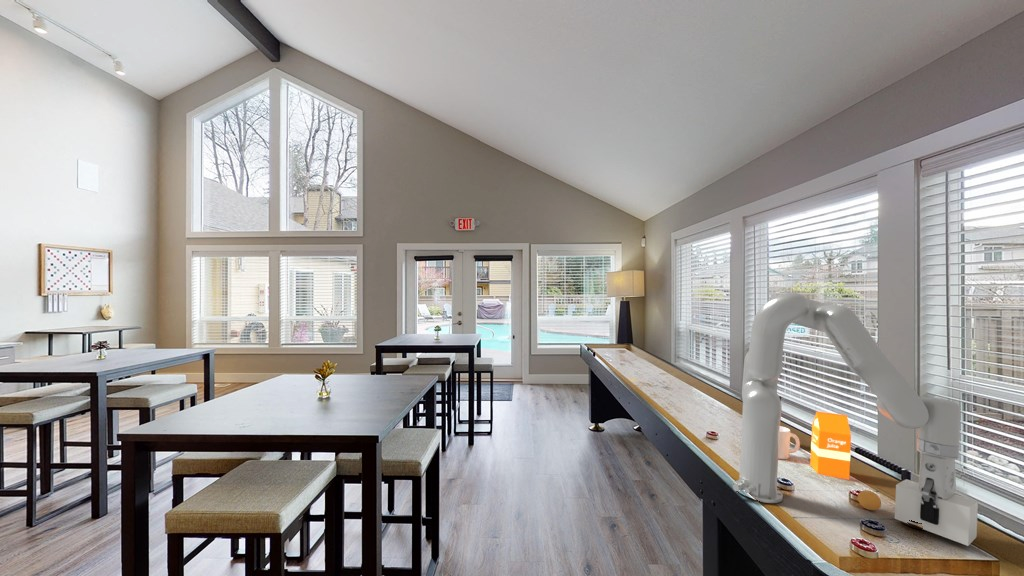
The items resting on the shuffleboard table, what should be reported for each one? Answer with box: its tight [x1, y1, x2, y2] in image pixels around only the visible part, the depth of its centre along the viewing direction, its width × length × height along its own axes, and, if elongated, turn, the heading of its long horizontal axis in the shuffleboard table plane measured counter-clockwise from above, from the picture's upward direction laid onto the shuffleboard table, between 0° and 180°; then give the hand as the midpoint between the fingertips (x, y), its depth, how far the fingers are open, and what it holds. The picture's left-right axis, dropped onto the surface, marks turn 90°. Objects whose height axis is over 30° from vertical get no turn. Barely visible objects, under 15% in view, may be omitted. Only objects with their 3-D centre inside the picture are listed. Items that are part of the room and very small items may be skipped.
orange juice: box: [810, 411, 852, 480], centre depth 142 cm, size 8×9×20 cm
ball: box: [857, 489, 882, 511], centre depth 117 cm, size 5×5×5 cm
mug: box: [778, 425, 801, 460], centre depth 154 cm, size 12×8×10 cm
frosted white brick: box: [894, 478, 979, 547], centre depth 106 cm, size 8×13×9 cm, turn 32°
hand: (934, 517), depth 106 cm, fingers closed on frosted white brick, 7 cm apart
